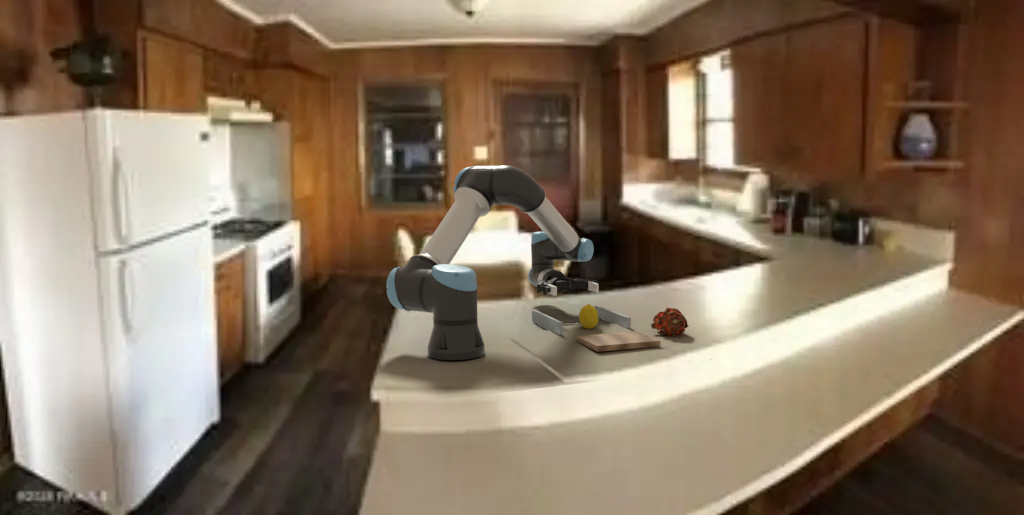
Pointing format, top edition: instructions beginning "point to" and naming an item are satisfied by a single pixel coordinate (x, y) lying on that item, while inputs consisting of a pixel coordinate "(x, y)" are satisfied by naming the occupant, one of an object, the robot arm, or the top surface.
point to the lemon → (588, 317)
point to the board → (618, 341)
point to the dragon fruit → (670, 322)
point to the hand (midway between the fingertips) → (576, 289)
